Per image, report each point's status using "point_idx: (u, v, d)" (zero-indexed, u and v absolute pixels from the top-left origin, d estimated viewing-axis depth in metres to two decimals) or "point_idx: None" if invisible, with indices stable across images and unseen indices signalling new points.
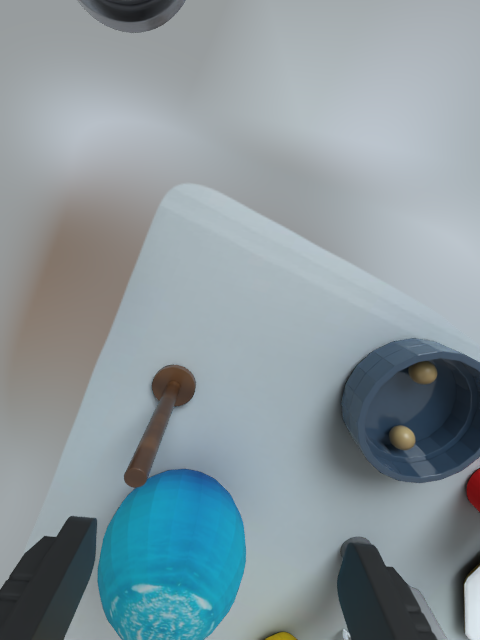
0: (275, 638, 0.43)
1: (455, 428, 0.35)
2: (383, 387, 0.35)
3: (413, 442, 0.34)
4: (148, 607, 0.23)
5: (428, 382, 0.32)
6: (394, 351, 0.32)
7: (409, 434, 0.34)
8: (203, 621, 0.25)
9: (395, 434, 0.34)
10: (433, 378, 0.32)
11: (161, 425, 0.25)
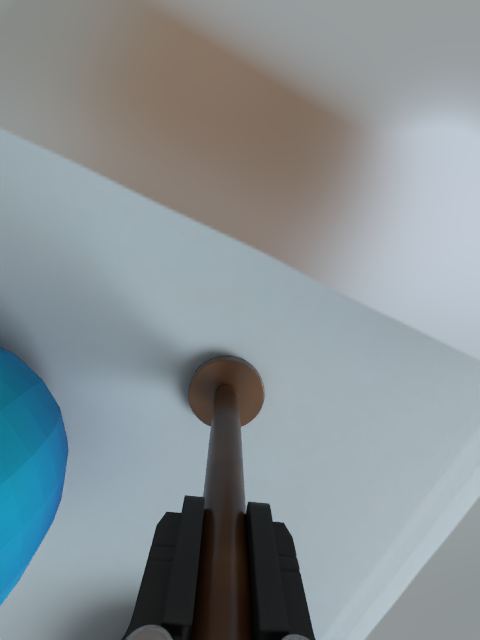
0: None
1: None
2: None
3: None
4: None
5: None
6: None
7: None
8: None
9: None
10: None
11: None
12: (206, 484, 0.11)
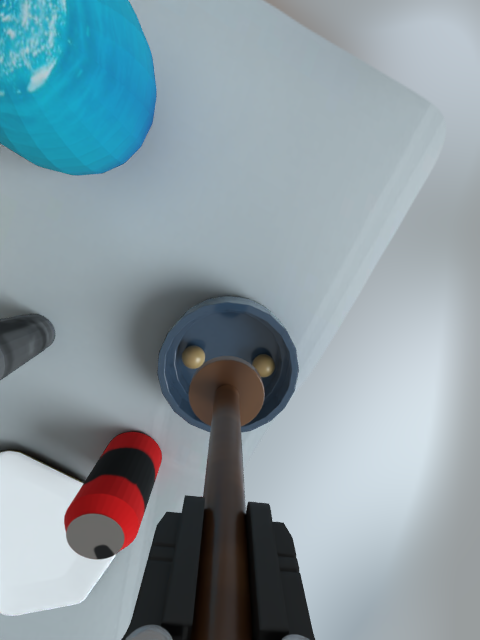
0: None
1: None
2: (242, 335, 0.36)
3: (194, 365, 0.34)
4: None
5: (258, 369, 0.34)
6: None
7: (201, 361, 0.34)
8: (10, 74, 0.18)
9: (198, 349, 0.34)
10: (262, 373, 0.34)
11: None
12: (206, 484, 0.11)
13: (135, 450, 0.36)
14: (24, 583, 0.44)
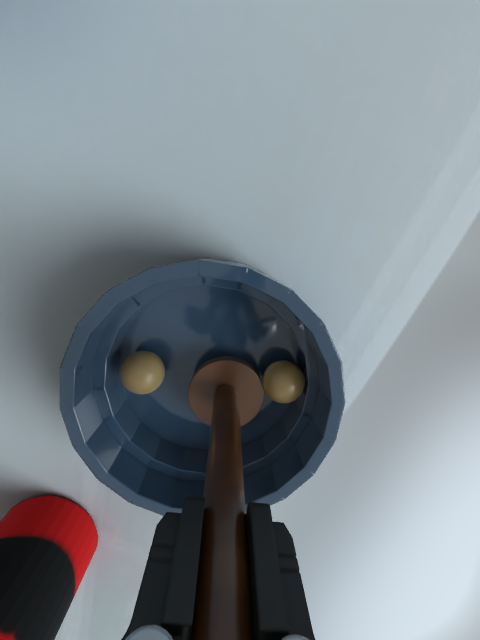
0: None
1: (167, 457, 0.20)
2: (234, 333, 0.20)
3: (141, 389, 0.18)
4: None
5: (285, 387, 0.18)
6: None
7: (155, 381, 0.18)
8: None
9: (151, 358, 0.18)
10: (292, 394, 0.18)
11: None
12: (206, 484, 0.11)
13: (37, 541, 0.20)
14: None
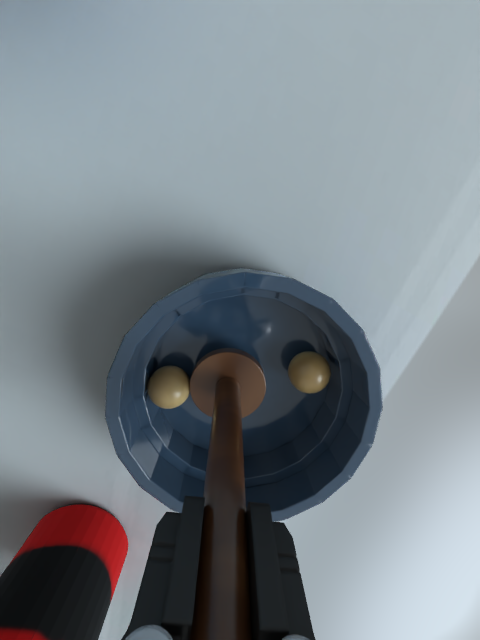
0: None
1: (202, 463, 0.20)
2: (266, 340, 0.20)
3: (161, 406, 0.18)
4: None
5: (313, 378, 0.18)
6: None
7: (175, 402, 0.18)
8: None
9: (175, 379, 0.18)
10: (311, 387, 0.18)
11: None
12: (208, 478, 0.11)
13: (74, 550, 0.20)
14: None
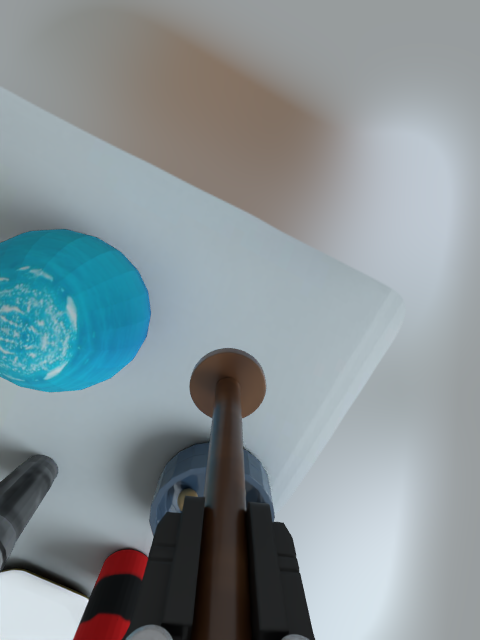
0: None
1: None
2: None
3: None
4: (52, 319, 0.21)
5: None
6: (266, 480, 0.38)
7: None
8: (30, 374, 0.22)
9: (196, 495, 0.39)
10: None
11: None
12: (209, 479, 0.11)
13: (129, 576, 0.40)
14: None
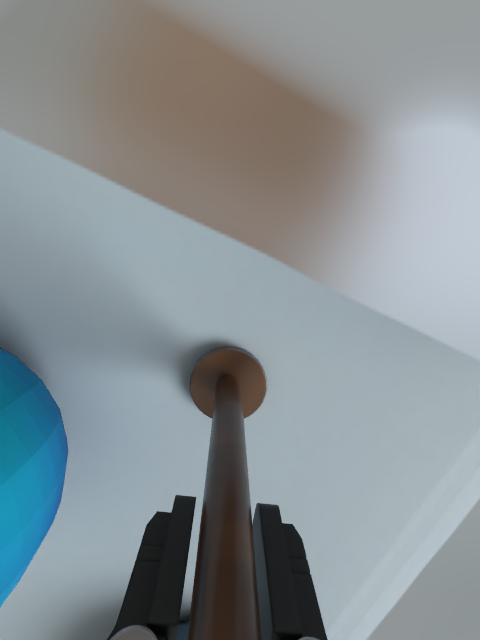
0: None
1: None
2: None
3: None
4: None
5: None
6: None
7: None
8: None
9: None
10: None
11: None
12: (211, 463, 0.11)
13: None
14: None
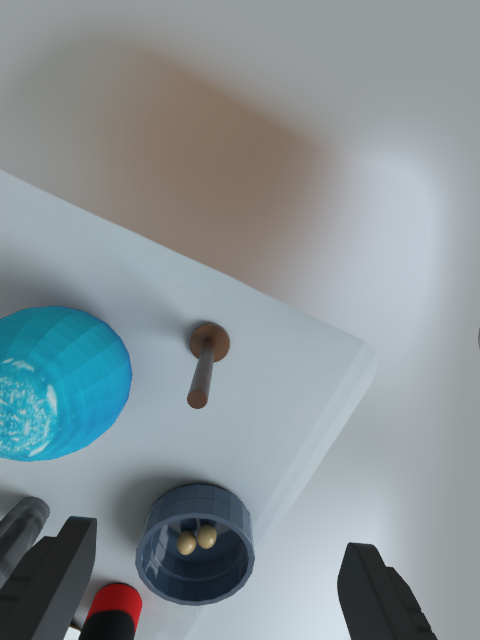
0: None
1: (178, 571, 0.42)
2: None
3: None
4: (33, 407, 0.23)
5: None
6: (247, 522, 0.40)
7: None
8: (15, 453, 0.24)
9: (189, 531, 0.42)
10: None
11: None
12: (198, 363, 0.28)
13: (118, 612, 0.42)
14: None
